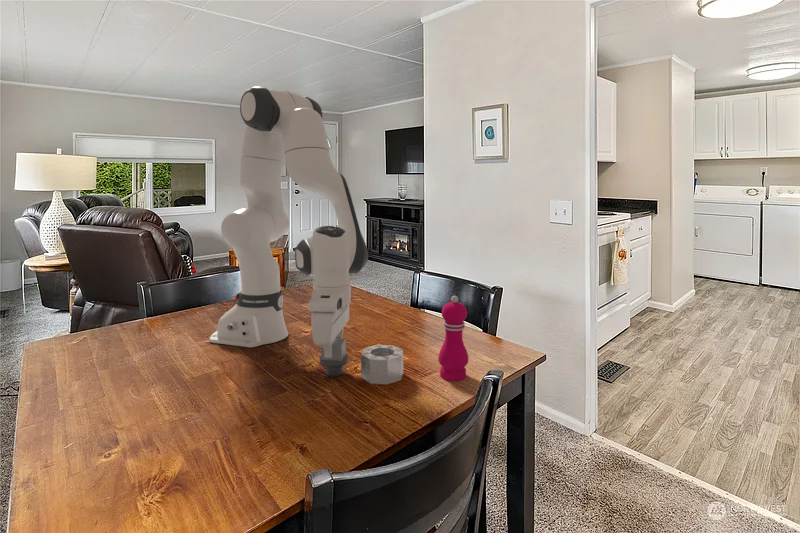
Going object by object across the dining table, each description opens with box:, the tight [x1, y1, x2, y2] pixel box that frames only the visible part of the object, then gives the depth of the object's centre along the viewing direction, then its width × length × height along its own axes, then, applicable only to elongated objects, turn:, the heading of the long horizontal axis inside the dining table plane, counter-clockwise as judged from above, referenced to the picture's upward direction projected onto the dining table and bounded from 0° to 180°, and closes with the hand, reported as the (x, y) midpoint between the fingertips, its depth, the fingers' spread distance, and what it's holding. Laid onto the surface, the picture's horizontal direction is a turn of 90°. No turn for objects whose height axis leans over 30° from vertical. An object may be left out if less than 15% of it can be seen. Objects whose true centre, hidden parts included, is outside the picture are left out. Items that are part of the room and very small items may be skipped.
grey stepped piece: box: [318, 338, 349, 378], centre depth 113 cm, size 7×7×8 cm
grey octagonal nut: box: [360, 344, 404, 385], centre depth 112 cm, size 10×10×6 cm
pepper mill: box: [437, 295, 469, 382], centre depth 111 cm, size 7×7×20 cm
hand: (333, 350), depth 113 cm, fingers open, 7 cm apart
